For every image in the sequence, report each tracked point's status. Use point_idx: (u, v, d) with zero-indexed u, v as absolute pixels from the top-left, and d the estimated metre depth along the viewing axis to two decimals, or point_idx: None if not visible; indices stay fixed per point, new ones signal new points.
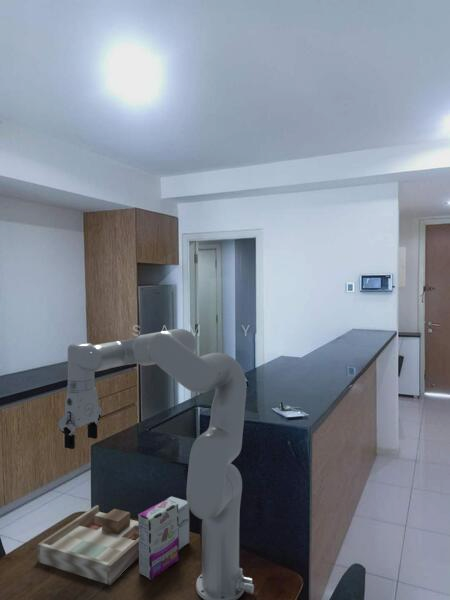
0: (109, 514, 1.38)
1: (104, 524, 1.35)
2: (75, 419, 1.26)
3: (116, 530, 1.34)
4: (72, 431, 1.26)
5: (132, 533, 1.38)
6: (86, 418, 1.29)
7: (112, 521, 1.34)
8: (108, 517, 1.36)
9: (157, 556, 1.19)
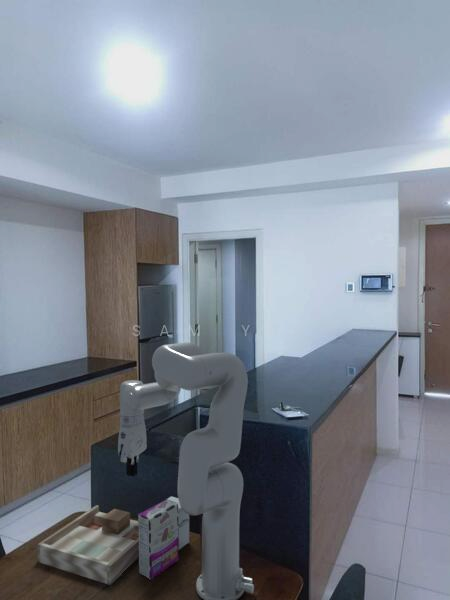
0: (109, 514, 1.38)
1: (104, 524, 1.35)
2: (128, 451, 1.40)
3: (116, 530, 1.34)
4: (133, 461, 1.43)
5: (132, 533, 1.38)
6: (137, 449, 1.43)
7: (112, 521, 1.34)
8: (108, 517, 1.36)
9: (157, 556, 1.19)
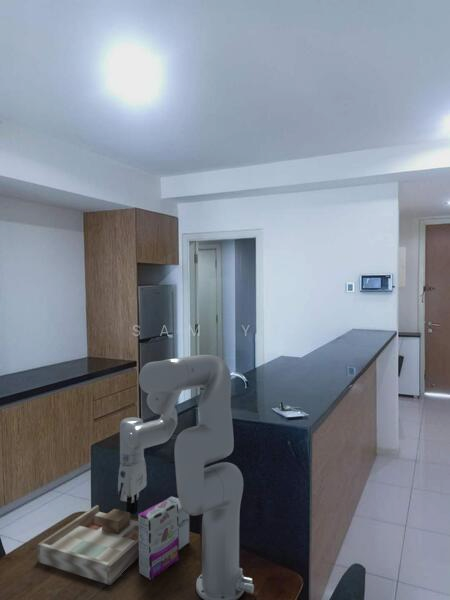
0: (109, 514, 1.38)
1: (104, 524, 1.35)
2: (128, 490, 1.39)
3: (116, 530, 1.34)
4: (133, 499, 1.43)
5: (132, 533, 1.38)
6: (137, 488, 1.43)
7: (112, 521, 1.34)
8: (108, 517, 1.36)
9: (157, 556, 1.19)
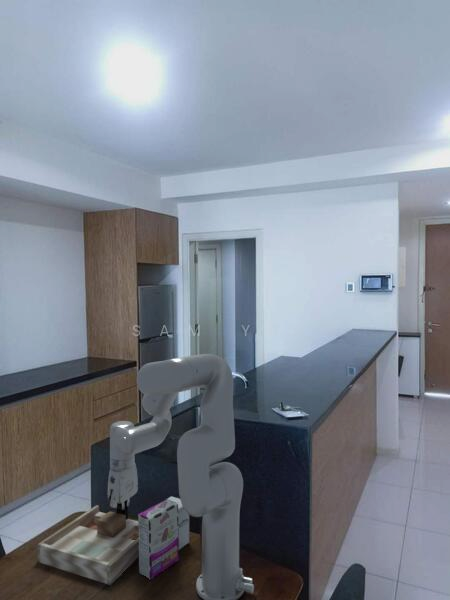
0: (105, 516, 1.36)
1: (99, 527, 1.34)
2: (118, 496, 1.35)
3: (111, 533, 1.32)
4: (123, 505, 1.39)
5: (132, 533, 1.38)
6: (127, 494, 1.38)
7: (107, 524, 1.33)
8: (103, 520, 1.34)
9: (157, 556, 1.19)
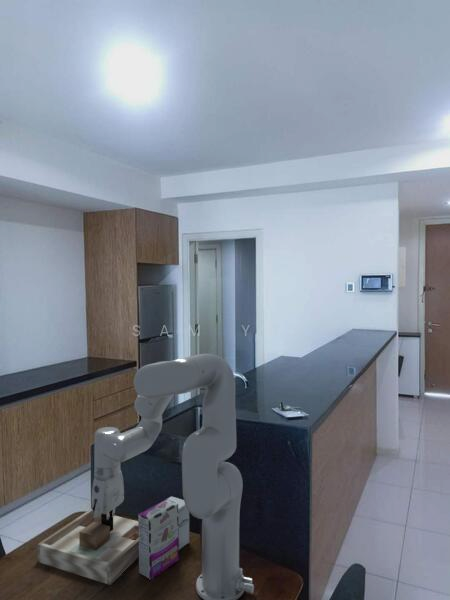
0: (88, 527, 1.30)
1: (81, 539, 1.27)
2: (102, 507, 1.28)
3: (94, 545, 1.26)
4: (108, 516, 1.32)
5: (132, 533, 1.38)
6: (112, 504, 1.32)
7: (90, 536, 1.26)
8: (86, 531, 1.28)
9: (157, 556, 1.19)
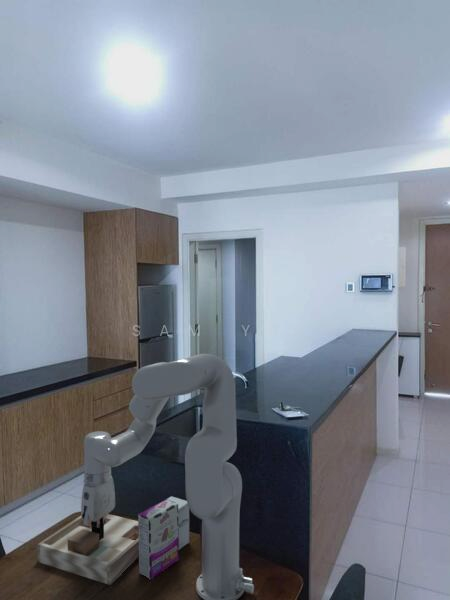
0: (77, 535, 1.26)
1: (69, 547, 1.23)
2: (92, 514, 1.24)
3: (82, 554, 1.22)
4: (98, 523, 1.28)
5: (132, 533, 1.38)
6: (103, 511, 1.27)
7: (78, 544, 1.22)
8: (74, 539, 1.24)
9: (157, 556, 1.19)
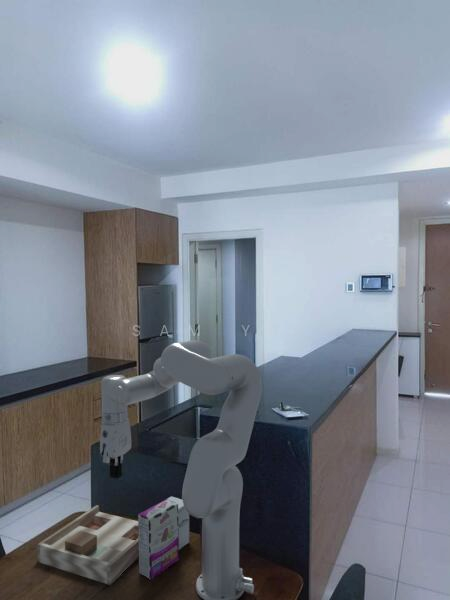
0: (74, 537, 1.25)
1: (67, 548, 1.23)
2: (111, 451, 1.30)
3: None
4: (116, 462, 1.33)
5: (132, 533, 1.38)
6: (120, 449, 1.33)
7: (75, 546, 1.21)
8: (72, 541, 1.23)
9: (157, 556, 1.19)
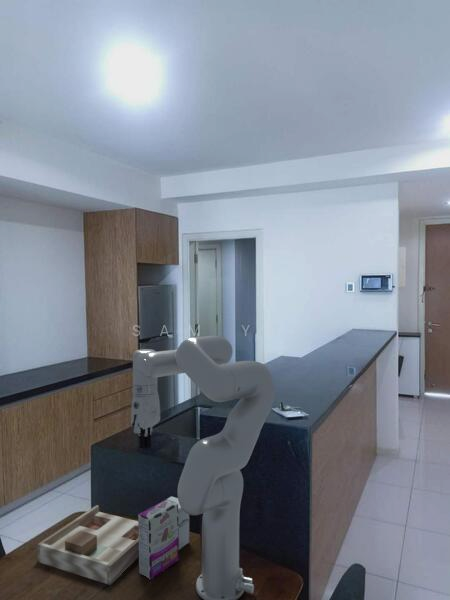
0: (74, 537, 1.25)
1: (67, 548, 1.23)
2: (142, 421, 1.34)
3: None
4: (146, 433, 1.38)
5: (132, 533, 1.38)
6: (151, 420, 1.37)
7: (75, 546, 1.21)
8: (72, 541, 1.23)
9: (157, 556, 1.19)
